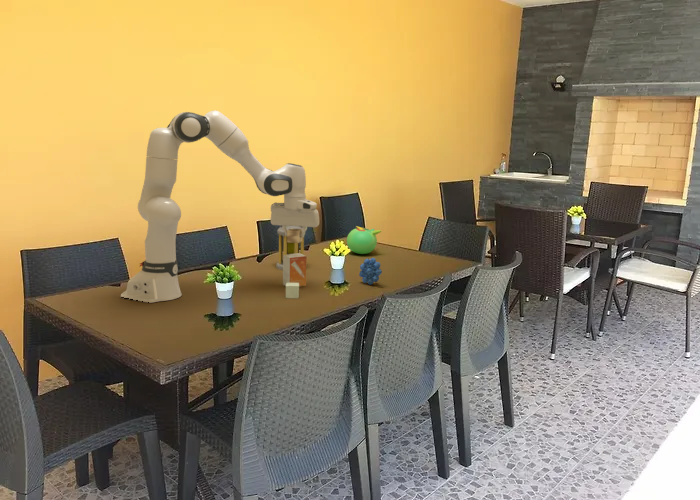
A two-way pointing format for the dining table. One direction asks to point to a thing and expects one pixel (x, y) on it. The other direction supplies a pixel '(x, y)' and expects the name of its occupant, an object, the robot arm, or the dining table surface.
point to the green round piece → (362, 240)
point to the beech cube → (294, 235)
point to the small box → (294, 269)
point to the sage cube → (292, 290)
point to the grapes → (370, 271)
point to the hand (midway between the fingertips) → (294, 236)
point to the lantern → (288, 245)
